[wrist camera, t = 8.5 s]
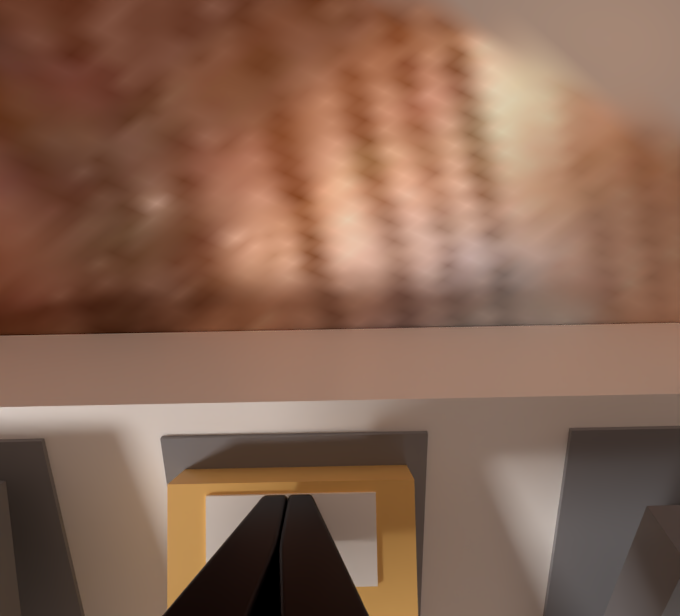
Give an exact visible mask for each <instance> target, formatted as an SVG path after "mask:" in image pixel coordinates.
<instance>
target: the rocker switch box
mask: <svg viewBox="0 0 680 616" xmlns="http://www.w3.org/2000/svg"><path fill="white" fill-rule="evenodd" d="M373 465H407V467H408V468H409V470H410V472H411V474H412V476H413V478H414V487H415V523H416V559H417V595H418V616H604V613H605V611H606V608H607V606H608V603H609V601H610V598H611V595H612V593H613V590H614V588H615V585H616V583H617V580H618V578H619V575H620V573H621V570H622V568H623V565H624V562H625V560H626V557H627V555H628V552H629V550H630V547H631V545H632V542H633V540H634V537H635V534H636V532H637V529H638V527H639V524H640V522H641V519H642V517H643V514H644V512H645V509H646V507H647V506H655V505H680V323H634V324H582V325H530V326H478V327H426V328H374V329H322V330H270V331H218V332H166V333H114V334H62V335H10V336H0V481H6V487H7V496H8V505H9V513H10V522H11V531H12V540H13V548H14V557H15V566H16V575H17V583H18V592H19V601H20V610H21V616H162V615H163V614H164V613H165V612H166V611H167V484H169V483H170V482H171V481H172V480H173V479H174V478H175V477H177V476H178V475H179V474H180V473H181V472H182V471H184V470H185V469H225V468H274V467H324V466H373Z"/></svg>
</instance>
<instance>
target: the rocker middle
mask: <svg viewBox="0 0 680 616" xmlns="http://www.w3.org/2000/svg"><path fill="white" fill-rule="evenodd" d="M294 494H310V495H312V497H313V498H314V500H315V502H316V504H317V506H318V509H319V511H320V513H321V515H322V517H323V519H324V521H325V523H326V525H327V528H328V530H329V532H330V534H331V536H332V538H333V540H334V542H335V544H336V547H337V549H338V551H339V553H340V555H341V557H342V559H343V561H344V564H345V566H346V568H347V570H348V572H349V574H350V576H351V578H352V580H353V583H354V585H355V587H356V589H357V591H358V593H359V595H360V597H361V599H362V602H363V604H364V606H365V608H366V610H367V612H368V614H369V616H418V595H417V559H416V523H415V487H414V478H413V476H412V474H411V472H410V470H409V468H408V467H407V465H373V466H324V467H274V468H225V469H185V470H184V471H182V472H181V473H180V474H179V475H178V476H177V477H175V478H174V479H173V480H172V481H171V482H170V483H169V484H167V609H168V608H169V607H170V606H171V605H172V604H173V602H174V601H175V600H176V599H177V598H178V596H179V595H180V594H181V593H182V592H183V590H184V589H185V588H186V587H187V586H188V585H189V583H190V582H191V581H192V580H193V579H194V577H195V576H196V575H197V574H198V573H199V571H200V570H201V569H202V568H203V567H204V566H205V564H206V563H207V562H208V561H209V560H210V558H211V557H212V556H213V555H214V554H215V552H216V551H217V550H218V549H219V548H220V547H221V545H222V544H223V543H224V542H225V541H226V539H227V538H228V537H229V536H230V535H231V534H232V532H233V531H234V530H235V529H236V528H237V526H238V525H239V524H240V523H241V522H242V520H243V519H244V518H245V517H246V516H247V515H248V513H249V512H250V511H251V510H252V509H253V507H254V506H255V505H256V504H257V503H258V501H259V500H260V499H261V498H262V497H263V496H265V495H285V496H287V498H288V497H289V496H290V495H294Z"/></svg>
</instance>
